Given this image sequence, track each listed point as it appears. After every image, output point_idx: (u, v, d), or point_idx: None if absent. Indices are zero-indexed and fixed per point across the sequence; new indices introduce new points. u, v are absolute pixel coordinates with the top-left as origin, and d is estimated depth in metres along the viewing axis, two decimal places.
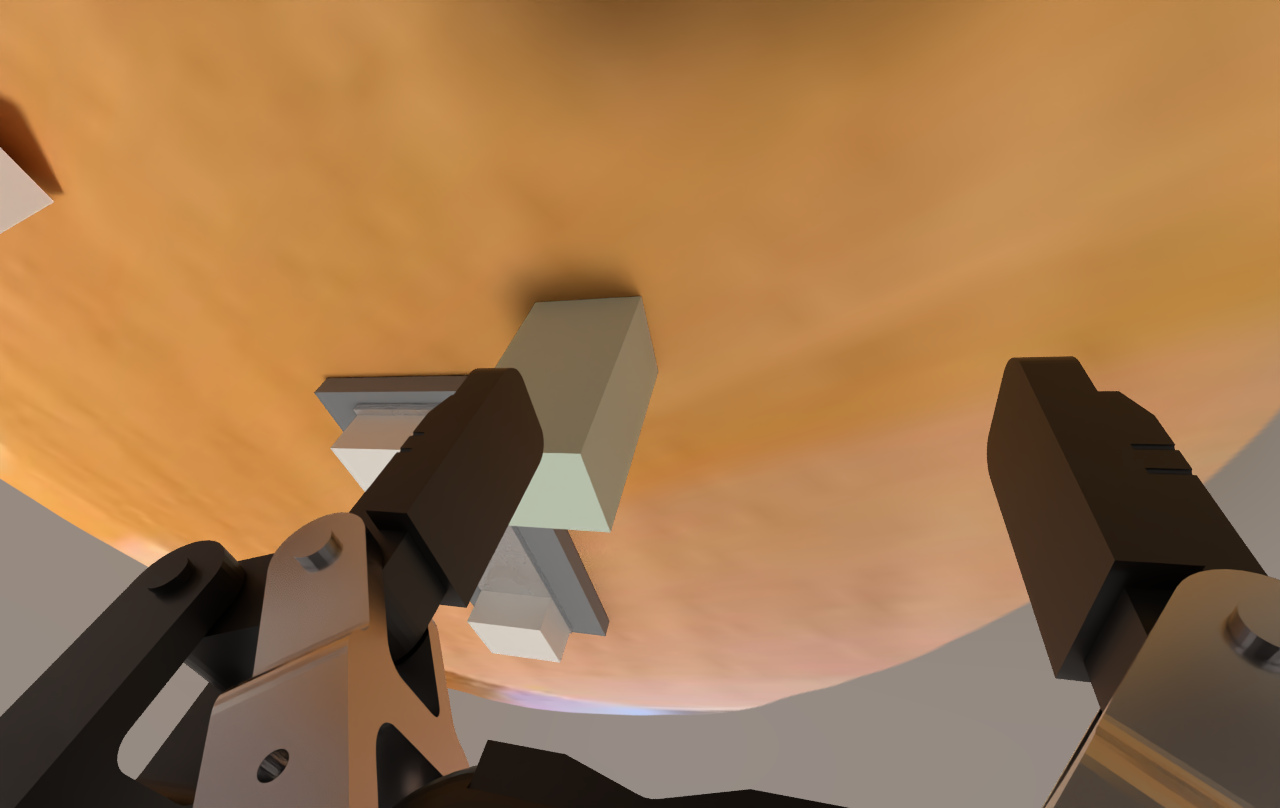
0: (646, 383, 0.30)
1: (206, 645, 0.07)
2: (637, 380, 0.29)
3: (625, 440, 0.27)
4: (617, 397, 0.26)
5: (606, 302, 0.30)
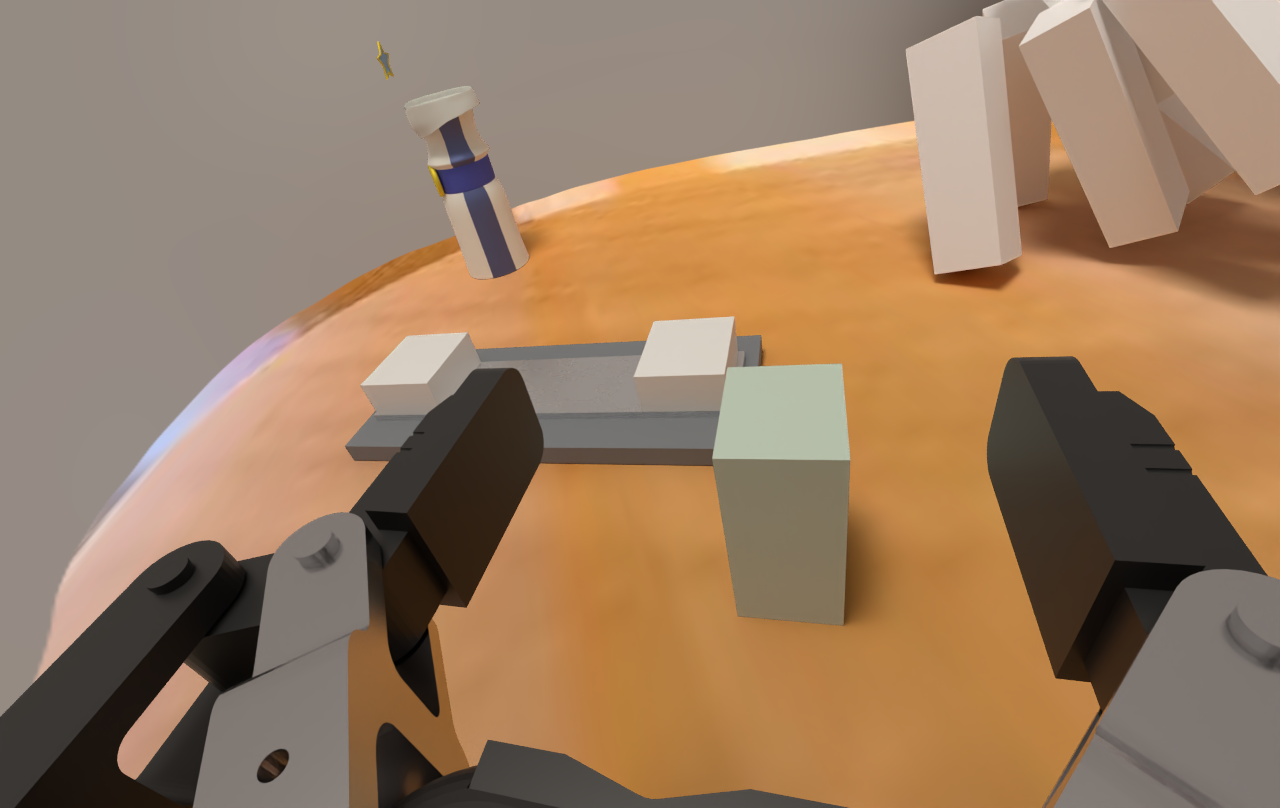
0: (755, 591, 0.27)
1: (206, 645, 0.07)
2: (780, 578, 0.26)
3: (758, 529, 0.24)
4: (812, 540, 0.24)
5: None
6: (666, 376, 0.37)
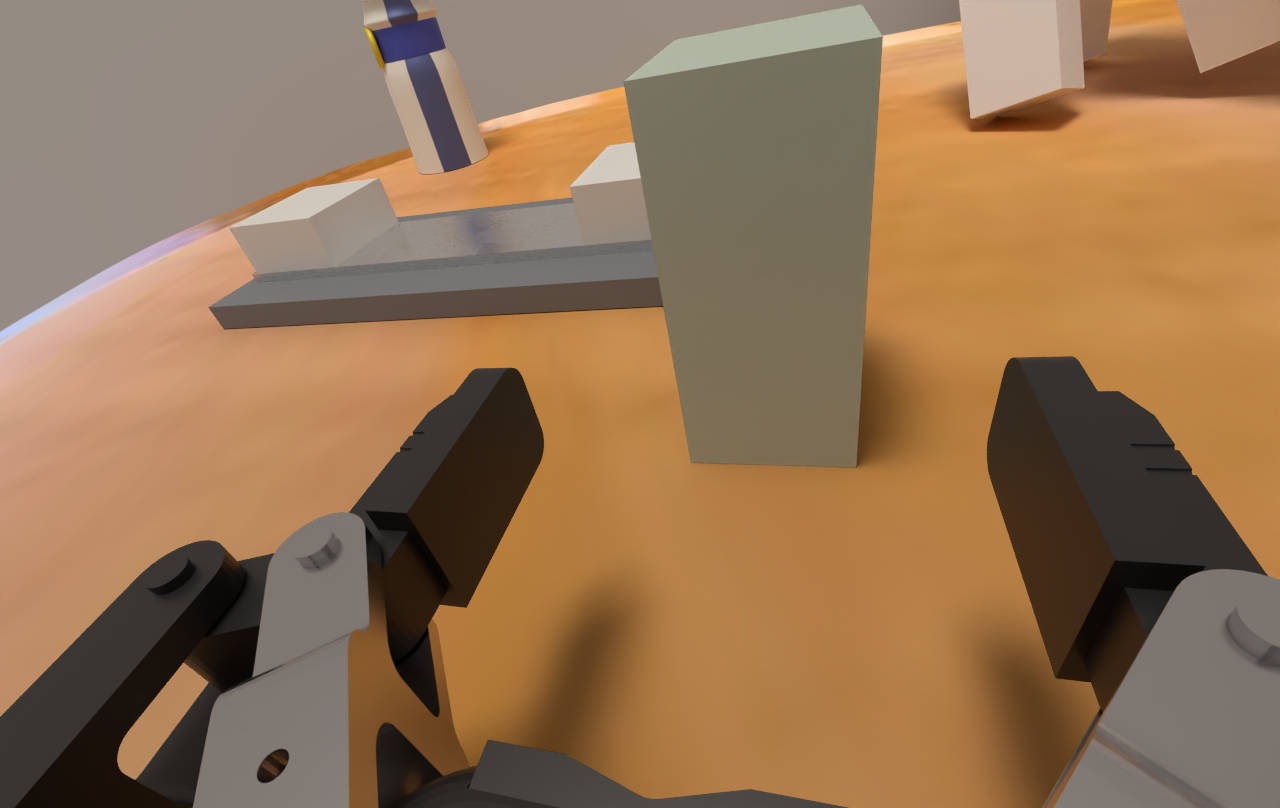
0: (715, 408, 0.17)
1: (206, 645, 0.07)
2: (755, 375, 0.16)
3: (714, 261, 0.14)
4: (808, 275, 0.14)
5: None
6: (612, 183, 0.27)
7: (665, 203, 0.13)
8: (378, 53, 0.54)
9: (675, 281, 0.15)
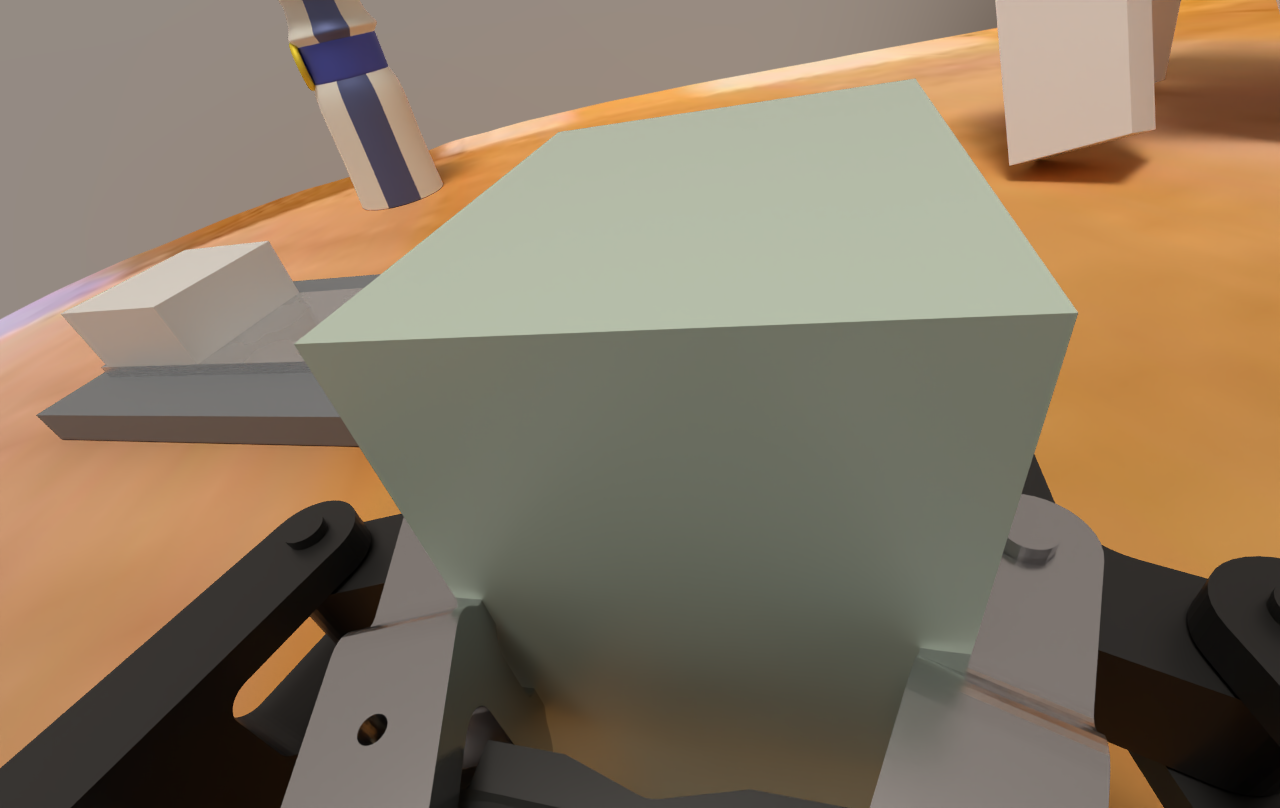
0: None
1: (342, 600, 0.07)
2: (704, 788, 0.08)
3: (599, 655, 0.06)
4: (806, 708, 0.06)
5: None
6: None
7: (472, 564, 0.06)
8: (306, 74, 0.46)
9: (527, 665, 0.07)
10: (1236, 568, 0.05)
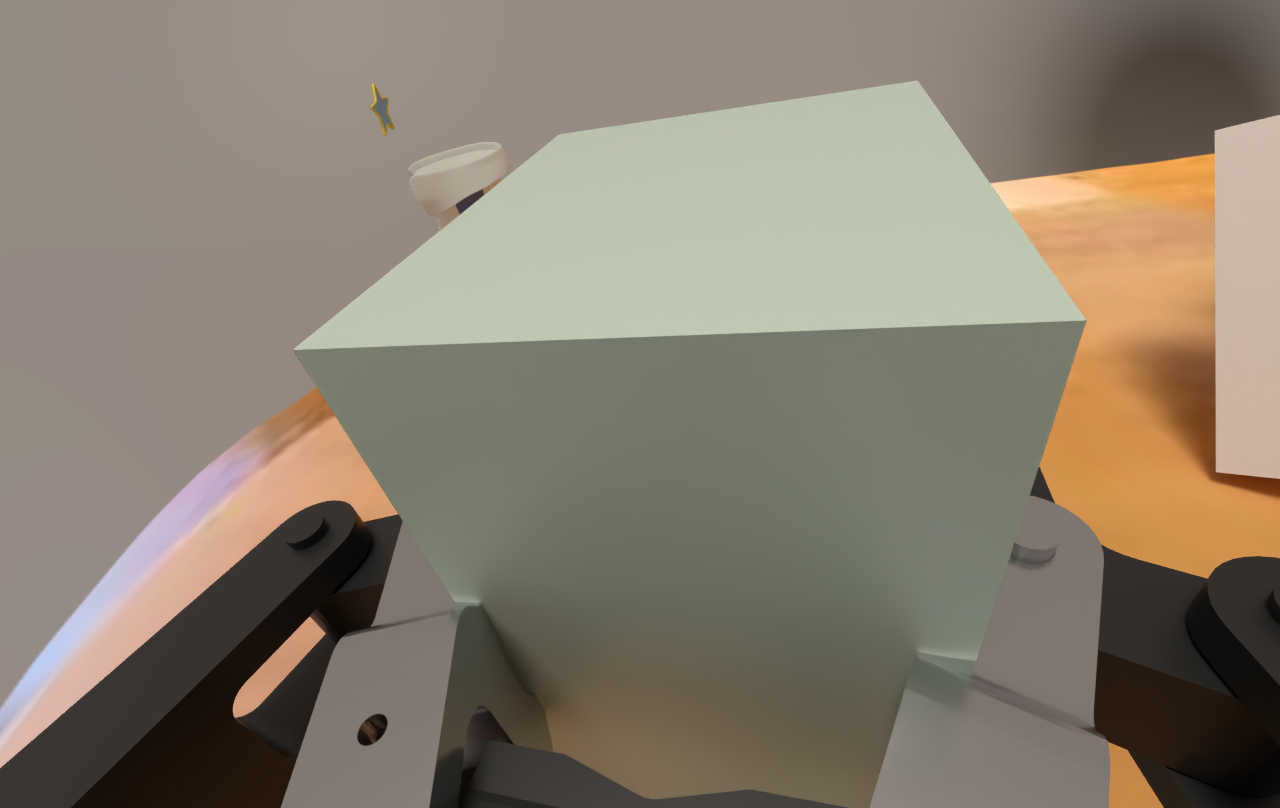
0: None
1: (342, 600, 0.07)
2: None
3: (600, 662, 0.06)
4: (809, 715, 0.06)
5: None
6: None
7: (473, 570, 0.06)
8: None
9: (528, 671, 0.07)
10: (1235, 569, 0.05)
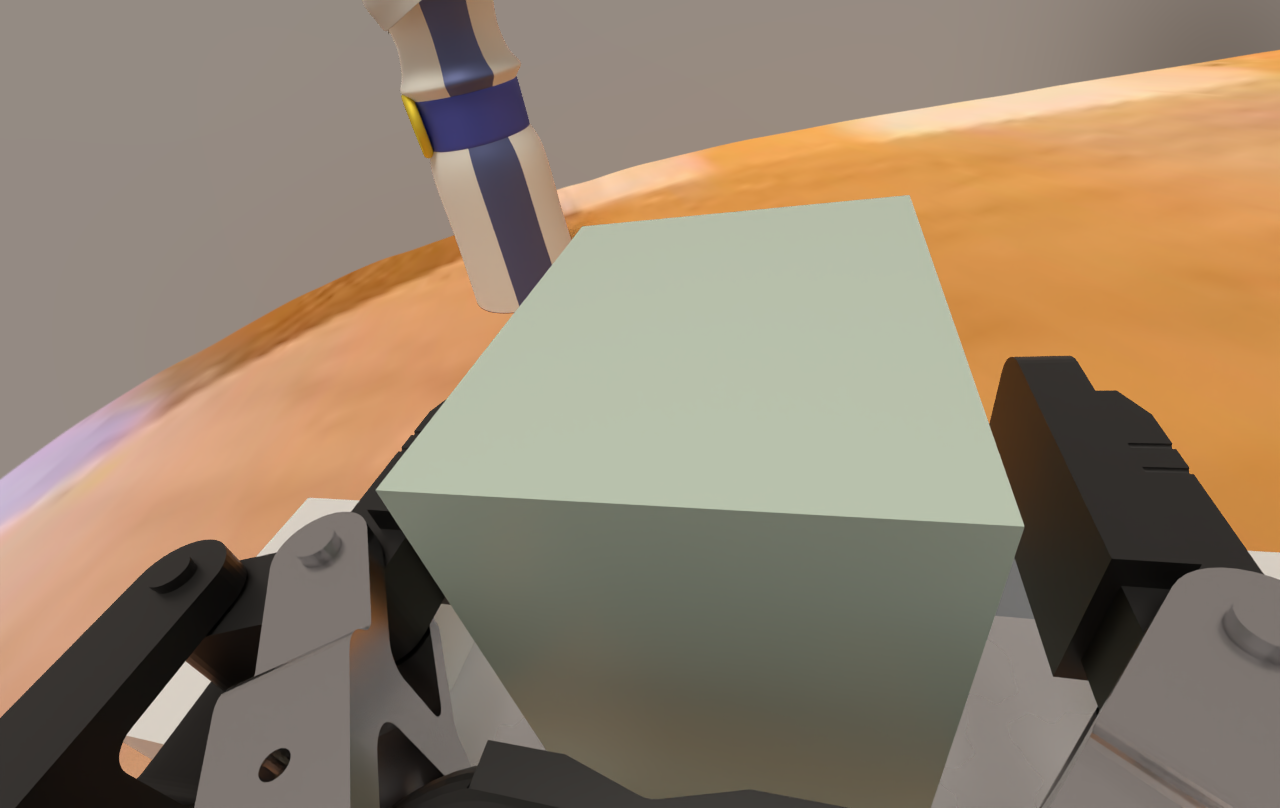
0: None
1: (208, 644, 0.07)
2: None
3: (624, 726, 0.07)
4: (809, 777, 0.07)
5: None
6: None
7: (515, 652, 0.07)
8: (425, 138, 0.32)
9: (557, 729, 0.08)
10: None
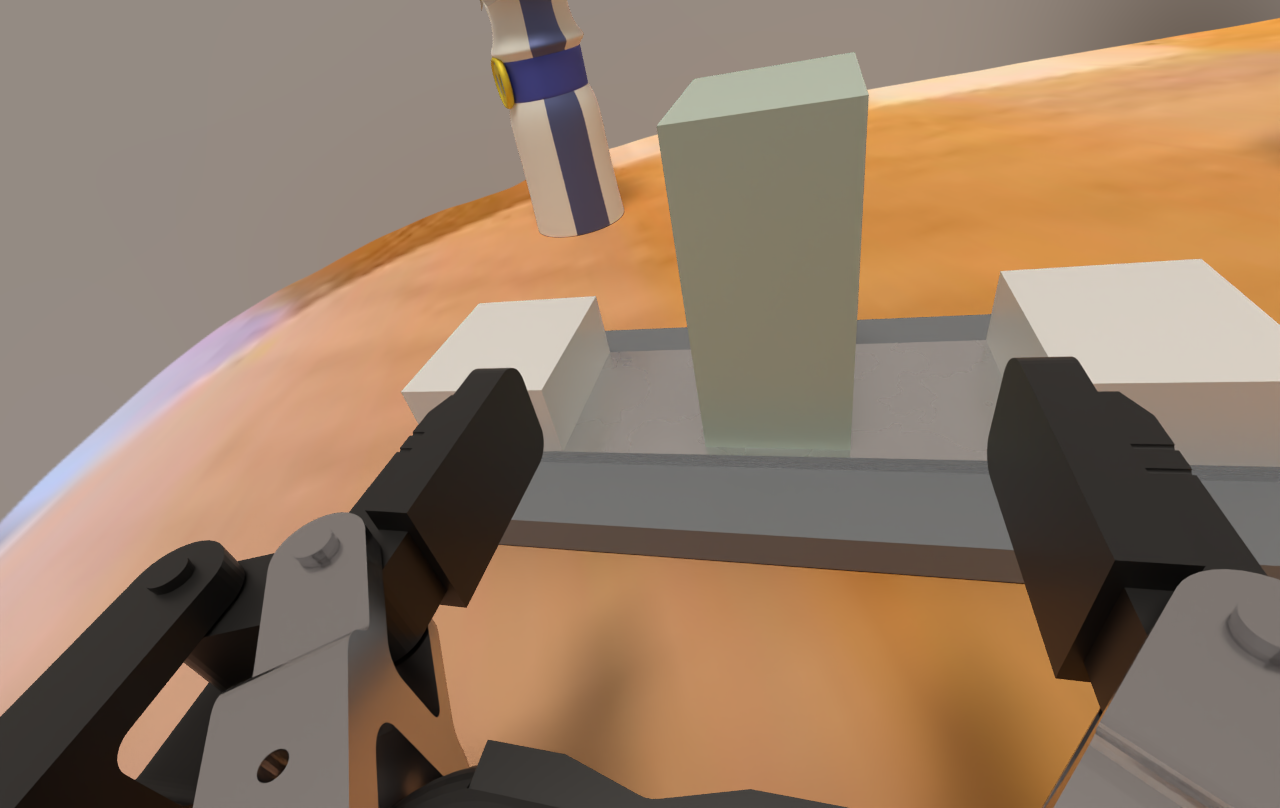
0: (727, 398, 0.19)
1: (206, 645, 0.07)
2: (762, 369, 0.18)
3: (729, 272, 0.17)
4: (808, 284, 0.16)
5: None
6: (1158, 384, 0.15)
7: (688, 224, 0.16)
8: (510, 91, 0.42)
9: (695, 289, 0.17)
10: None
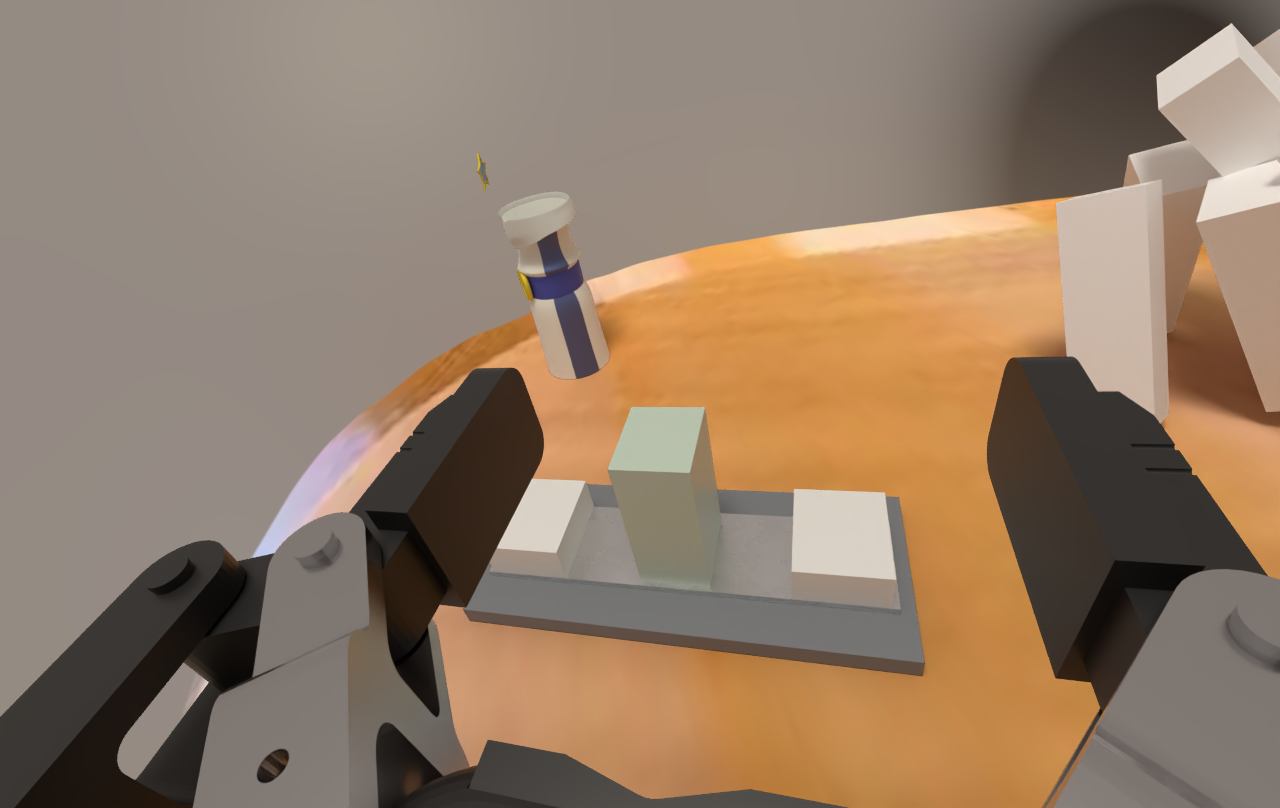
0: (649, 561, 0.39)
1: (206, 645, 0.07)
2: (663, 552, 0.38)
3: (643, 517, 0.36)
4: (678, 525, 0.36)
5: (713, 561, 0.40)
6: (828, 575, 0.35)
7: (623, 500, 0.36)
8: (530, 293, 0.62)
9: (629, 521, 0.37)
10: None
